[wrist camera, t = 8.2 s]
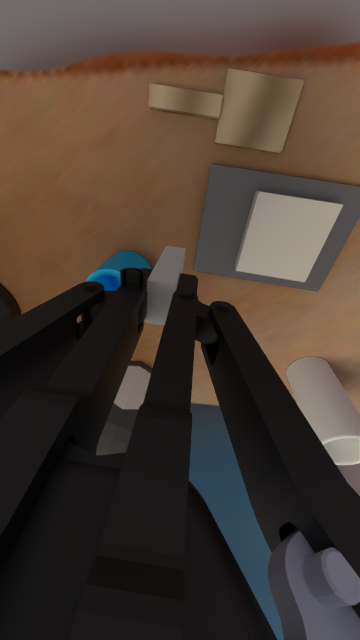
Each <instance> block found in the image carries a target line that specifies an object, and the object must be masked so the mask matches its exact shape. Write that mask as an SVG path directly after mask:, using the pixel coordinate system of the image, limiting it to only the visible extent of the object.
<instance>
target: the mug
mask: <svg viewBox="0 0 360 640" xmlns="http://www.w3.org/2000/svg"><path fill="white" fill-rule="evenodd" d="M130 267H132V268H139V269H141V268H148V269H151V267H150V265H149V264H148V262H147V261H146V260H145V259H144V258H143V257H142V256H141V255H139V254H137V253H134V252H131V251H122V252H118V253H116V254H115V255H113V256H112V257H111V258H110V259H108V260H107V261H106V262H105V263H104V264H102V265H101V266H100V267H99V268H98V269H96V270H95V271H94V272H93V273H92V274H90V276H89V277H88V279H87V280H86V282H88V281H91V282H92V281H95V282H99V283H101V284H103V285H104V290H105V291H114V290H117V289H118V288H119V286H120V285H121V281H120V270H122V269H124V268H130Z"/></svg>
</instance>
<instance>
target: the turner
mask: <svg viewBox="0 0 360 640" xmlns="http://www.w3.org/2000/svg"><path fill="white" fill-rule="evenodd" d="M304 81H305V80H300V79H293V78H287V77H281V76H274V75H268V74H262V73H255V72H249V71H243V70H236V69H230V68H228V70H227V76H226V81H225V87H224V93H223V95H221V94H214V93H208V92H202V91H195V90H189V89H183V88H177V87H170V86H164V85H158V84H152V83H149V107H150V108H151V109H152V110H157V111H163V112H169V113H176V114H182V115H188V116H194V117H200V118H207V119H213V120H219V121H218V127H217V132H216V138H215V143H216V144H222V145H228V146H235V147H241V148H247V149H253V150H259V151H266V152H272V153H278V154H280V153H282V149H283V146H284V143H285V140H286V137H287V134H288V131H289V128H290V125H291V121H292V118H293V115H294V112H295V109H296V106H297V103H298V100H299V96H300V93H301V90H302V87H303V84H304Z"/></svg>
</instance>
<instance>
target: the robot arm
mask: <svg viewBox="0 0 360 640" xmlns="http://www.w3.org/2000/svg"><path fill="white" fill-rule="evenodd" d="M185 250H186V248H180V247H174V246H167V245H166V247H165V249H164V251H163V252H162V254H161V256H160V258H159V260H158V262H157V263H156V265H155V267H154V269H148V268H141V269H139V268H132V267H130V268H124V269H122V270H120V281H121V285H120V286H119V288H118V289H117V290H114V291H105V290H104V285H103V284H101V283H99V282H95V281H92V282H91V281H88V282H84V283H81V284H79V285H77V286H75V287H73V288H71V289H69V290H67V291H65V292H64V293H62V294H60V295H58V296H56V297H54V298H52V299H50V300H48V301H47V302H45V303H43V304H41V305H39V306H37V307H35V308H33V309H32V310H30V311H28V312H26V313H24V314H22V315H21V314H20V310H19V307H18V305H17V303H16V301H15V300H14V298H13V297H12V296H11V294H10V293H9V292H8V291H7V290H6V289H5V288H4V287H3V286H2V285H1V284H0V640H277V638H276V636H275V634H274V632H273V630H272V628H271V626H270V625H269V623H268V621H267V619H266V617H265V615H264V613H263V611H262V609H261V607H260V605H259V603H258V602H257V600H256V598H255V596H254V594H253V592H252V590H251V588H250V586H249V584H248V583H247V581H246V579H245V577H244V575H243V573H242V571H241V569H240V567H239V565H238V563H237V561H236V559H235V558H234V556H233V554H232V552H231V550H230V548H229V546H228V544H227V542H226V540H225V539H224V536H223V535H222V533H221V531H220V529H219V527H218V525H217V523H216V521H215V519H214V517H213V515H212V514H211V512H210V510H209V508H208V506H207V504H206V502H205V501H204V499H203V497H202V496H201V495H200V493H199V492H198V490H197V489H196V488H195V487H194V486H193V484H192V483H191V482H190V481H189V465H190V446H191V430H192V413H190V404H191V390H192V375H193V361H194V346H195V340H197V341H199V342H201V348H202V352H203V355H204V358H205V361H206V364H207V367H208V370H209V374H210V377H211V380H212V383H213V386H214V389H215V393H216V396H217V399H218V402H219V405H220V408H221V411H222V414H223V417H224V421H225V424H226V426H227V430H228V433H229V437H230V439H231V443H232V446H233V449H234V452H235V455H236V459H237V461H238V465H239V468H240V471H241V474H242V477H243V481H244V484H245V487H246V490H247V493H248V496H249V499H250V502H251V505H252V508H253V510H254V513H255V516H256V519H257V521H258V524H259V526H260V529H261V531H262V533H263V535H264V537H265V539H266V542H267V544H268V546H269V548H270V550H271V552H272V554H271V556H270V559H269V563H268V579H269V585H270V590H271V593H272V595H273V599H274V601H275V604H276V607H277V610H278V613H279V616H280V619H281V624H282V630H283V635H284V640H360V496H359V495H358V494H357V493H356V492H355V491H354V490H353V488H351V486H350V485H349V484H348V483H347V482H346V480H345V478H344V477H343V475H342V474H341V472H340V471H339V469H338V467H337V466H336V464H335V463H334V461H333V460H332V458H331V457H330V455H329V453H328V452H327V450H326V449H325V447H324V446H323V444H322V443H321V441H320V439H319V438H318V436H317V435H316V433H315V432H314V430H313V429H312V427H311V425H310V424H309V422H308V421H307V419H306V418H305V416H304V414H303V413H302V411H301V410H300V408H299V407H298V405H297V404H296V402H295V400H294V399H293V397H292V396H291V394H290V393H289V391H288V390H287V388H286V386H285V385H284V383H283V382H282V380H281V379H280V377H279V376H278V374H277V372H276V371H275V369H274V368H273V366H272V365H271V363H270V361H269V360H268V358H267V357H266V355H265V354H264V352H263V351H262V349H261V347H260V346H259V344H258V343H257V341H256V340H255V338H254V337H253V335H252V333H251V332H250V330H249V329H248V327H247V326H246V324H245V323H244V321H243V319H242V318H241V316H240V315H239V313H238V312H237V310H236V308H235V307H234V306H233V305H231V304H229V303H227V302H224V301H215V302H212V303H211V304H210V306H208V305H205V304H203V303H201V302H200V301H199V300H198V296H197V286H198V279H197V277H196V276H195V275H189V274H182V271H183V264H184V257H185ZM79 315H81V320H82V321H80V322H79V323H77V319H76V318H77V317H78V316H79ZM145 317H146V320H145V323H147V324H154V325H160V326H164V329H163V333H162V336H161V340H160V344H159V347H158V351H157V355H156V358H155V362H154V365H153V369H152V373H151V376H150V380H149V384H148V387H147V391H146V394H145V398H144V401H143V404H142V405H140V407H139V410H138V413H137V416H136V419H135V423H134V426H133V430H132V433H131V437H130V440H129V444H128V447H127V450H126V452H125V453H116V454H107V455H96V451H97V445H98V442H99V439H100V436H101V434H102V431H103V429H104V426H105V423H106V421H107V418H108V416H109V413H110V411H111V408H112V406H113V403H114V401H115V398H116V396H117V393H118V391H119V388H120V386H121V383H122V381H123V378H124V376H125V373H126V371H127V368H128V366H129V363H130V361H131V358H132V356H133V353H134V351H135V348H136V345H137V343H138V340H139V338H140V335H141V333H142V330H143V326H144V319H145Z"/></svg>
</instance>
